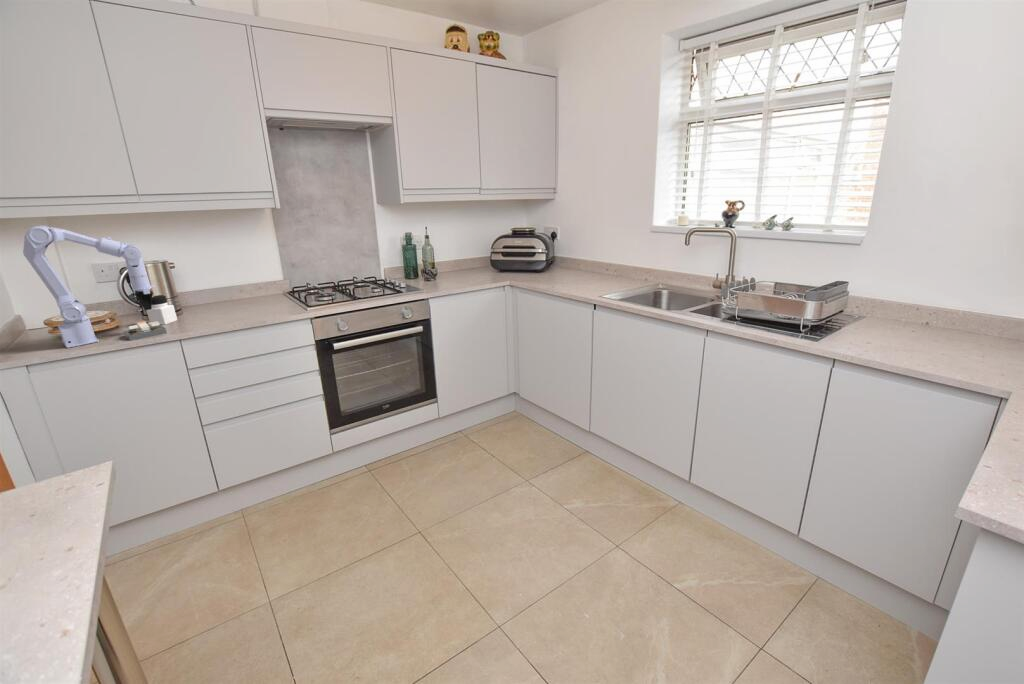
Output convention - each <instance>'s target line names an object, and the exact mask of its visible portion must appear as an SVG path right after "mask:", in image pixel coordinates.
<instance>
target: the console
mask: <svg viewBox="0 0 1024 684" xmlns="http://www.w3.org/2000/svg"><path fill="white" fill-rule="evenodd" d="M148 326H149V325H148ZM149 328H150V329H149V330H144V331H142V330H141V329H140V328H139V327H138V328H137V329H136V330H131V331H128V330H123V331H122V332H123V335H124V337H125V338H126V339H127V340H128V341H134V340H135V341H136V340H139V339H144V338H149V337H154V336H158V335H163V334H168V333H167V329H166V327H164V325H163V326H162V325H157V326H149Z"/></svg>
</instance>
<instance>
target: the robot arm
mask: <svg viewBox="0 0 1024 684" xmlns="http://www.w3.org/2000/svg"><path fill="white" fill-rule="evenodd" d="M23 239H24V240H23V250H22V251H23V252H22V254H23V256H24V257H25V258H26V260H27V262H28V263H29V265H31V267H32V268H33V270H34V271H35V273H36V275H38V277H39V278H40V279H41V281H42V282H43V284H44V285H45V287H46V288H47V289H48V291H49V292H50V294H51V295H52V297H54V299H55V302H56V304H57V307H58V308H59V310H60V311H59V312H60V317H61V318H62V319H63V322H62V323H58V324H57V327H58V330H59V333H60V336H61V341H62V344H64V346H65V347H66V348H67V349H69V348H74V347H78V346H79V347H80V346H85V345H88V344H93V343H98V342H100V340H99V338H97V337H96V334H95V332H94V329H93V326H92V322H91V319H90V317H89V316H87V315H86V314H87V309H88V308H87V306H86V305H85V304H84V303H83V302H82V301H81V302H80V301H79V300H78V299H77V298H76V296H75V295H73V293H72V292H71V291H70V289H69V288H68V287H67V285H66V283H64V282H65V281H63V279H62V278H61V277H60V275H59V274H58V272H57V271H56V269H55V267H53V265H52V264H51V262H50V261H49V259H48V257H47V256H46V255H45V253H46V251H47V249H48V248H49V246H50V245H51V244H52V243H53V242H64V241H68V242H72V243H77V244H80V245H85V246H88V247H92V248H95V249H96V250H97V251H98V252H99V253H101V254H106V255H110V256H113V257H118V258H123V259H124V260H125V264H126V265H125V267H126V271H127V274H128V277H129V281H130V284H131V289H132V291H134V292H135V293H133V295H134V296H135V297H136V298H137V300H138V301H139V303H140V304H141V306H142V308H143V310H144V311H147V310H150V309H152V303H151V300H152V296H154V291H151V289H152V288H155V285H153V284H151V283H150V280H149V277H148V273H147V269H146V265H145V263H144V259H143V258H142V250H141V249H140V247H138V246H136V245H134V244H128V242H121V241H118V240H113V239H112V237H109V236H108V237H101V238H95V237H90V236H87V235H84V234H80V233H77V232H75V231H72V230H68V229H64V228H60V227H55V226H54V227H51V226H48V225H43V224H42V225H36V226H35V225H34V226H32V227H30V228H29V229H28V230H27V231H26V233H25V234H24V236H23Z"/></svg>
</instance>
